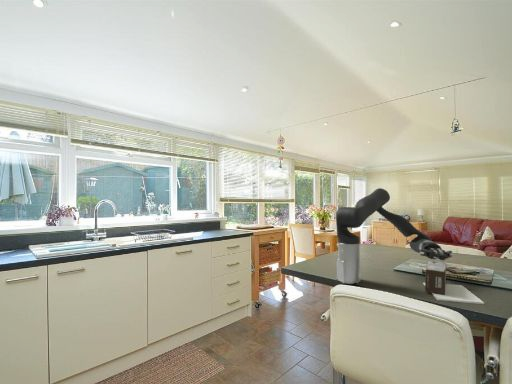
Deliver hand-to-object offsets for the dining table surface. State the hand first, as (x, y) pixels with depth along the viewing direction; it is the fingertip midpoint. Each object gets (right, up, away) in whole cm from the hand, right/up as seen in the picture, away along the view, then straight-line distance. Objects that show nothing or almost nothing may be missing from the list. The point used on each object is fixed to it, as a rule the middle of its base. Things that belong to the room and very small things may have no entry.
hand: (442, 257), depth 110 cm
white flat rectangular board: (-2, -12, -7) cm, 14 cm away
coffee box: (0, -7, +4) cm, 8 cm away
